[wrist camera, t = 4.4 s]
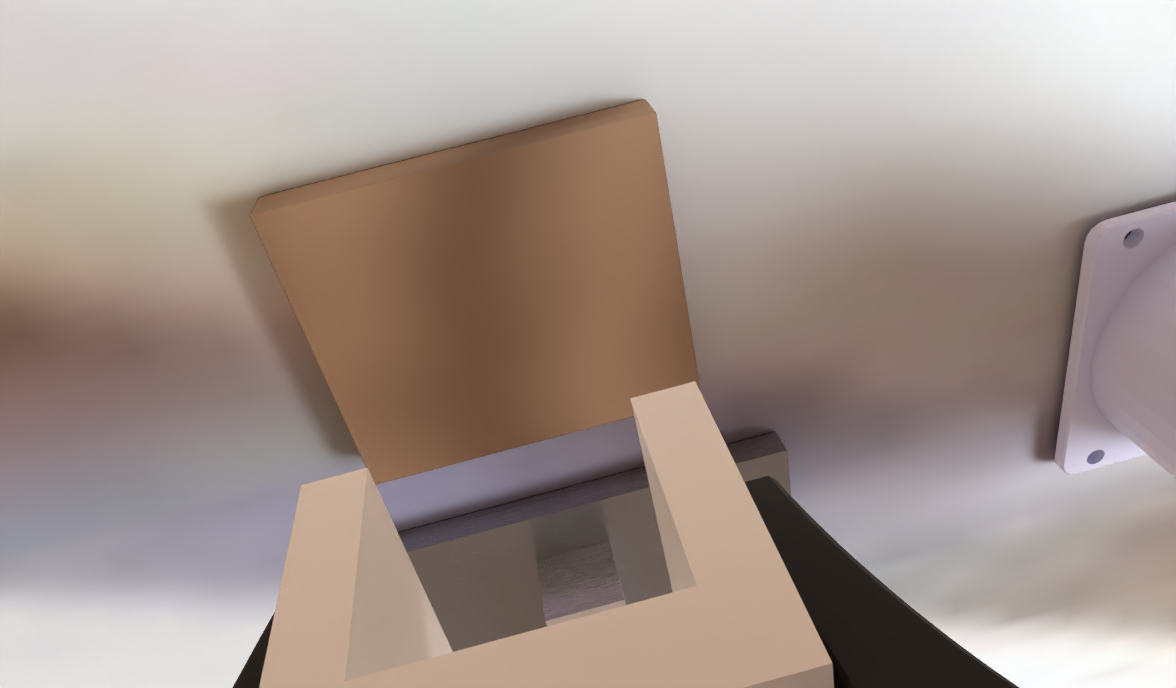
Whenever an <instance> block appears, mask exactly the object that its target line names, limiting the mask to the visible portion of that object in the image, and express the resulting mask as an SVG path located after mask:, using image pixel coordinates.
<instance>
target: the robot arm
mask: <svg viewBox="0 0 1176 688" xmlns="http://www.w3.org/2000/svg"><path fill="white" fill-rule="evenodd" d="M1131 230H1132V232H1131V234H1130V235H1129V236H1128V237H1127V238H1126V239H1125V240H1124V238H1125V236H1126V235H1127V234H1128V233H1129V232H1130V231H1131ZM1146 454H1148V455H1149V456H1150V457H1151V458H1152V459H1153V460H1155V461H1156V462H1157V463H1158V464H1159V465H1160V466H1162V467H1163V468H1164V469H1165V470H1166V471H1167V472H1169V473H1170V474H1171V475H1172V476H1173V477H1175V478H1176V201H1175V202H1171V203H1167V204H1163V205H1159V206H1156V207H1152V208H1148V209H1144V210H1140V211H1137V212H1133V213H1129V214H1125V215H1121V216H1118V217H1114V218H1110V219H1106V220H1104V221H1102V222H1100V223H1098V224H1097V225H1096V226H1094V227H1093V228H1092V229H1091V230H1090V232H1089V233H1088V235H1087V237H1086V240H1085V243H1084V250H1083V257H1082V264H1081V271H1080V279H1079V286H1078V293H1077V300H1076V308H1075V315H1074V322H1073V329H1072V337H1071V344H1070V351H1069V358H1068V365H1067V373H1066V380H1065V387H1064V394H1063V402H1062V409H1061V416H1060V423H1059V430H1058V438H1057V445H1056V452H1055V463H1056V464H1057V465H1058V466H1059V467H1060V468H1061V469H1062V470H1063V471H1064V472H1065V473H1068V474H1075V473H1080V472H1083V471H1087V470H1091V469H1094V468H1098V467H1102V466H1106V465H1109V464H1113V463H1117V462H1120V461H1124V460H1128V459H1131V458H1135V457H1139V456H1142V455H1146ZM745 484H746V486H747V489H748V491H749V493H750V495H751V497H752V499H753V501H754V503H755V505H756V507H757V509H758V511H759V513H760V515H761V517H762V519H763V521H764V523H765V526H766V528H767V530H768V532H769V534H770V536H771V538H772V540H773V542H774V544H775V546H776V548H777V550H778V552H779V554H780V556H781V558H782V560H783V562H784V565H785V567H786V569H787V571H788V573H789V575H790V577H791V579H792V581H793V583H794V585H795V587H796V589H797V591H798V593H799V595H800V597H801V599H802V601H803V604H804V606H805V608H806V610H807V612H808V614H809V616H810V618H811V620H812V622H813V624H814V626H815V628H816V630H817V632H818V634H819V636H820V638H821V641H822V643H823V645H824V647H825V649H826V651H827V653H828V655H829V657H830V659H831V661H832V663H833V678H834V688H1019V687H1017V686H1016V685H1015V684H1013V683H1012V682H1010V681H1009V680H1007V679H1006V678H1004V677H1003V676H1002V675H1000V674H999V673H997V672H996V671H994V670H993V669H991V668H990V667H989V666H987V665H986V664H984V663H983V662H982V661H980V660H979V659H978V658H976V657H975V656H973V655H972V654H971V653H969V652H968V651H967V650H965V649H964V648H963V647H961V646H960V645H959V644H957V643H956V642H955V641H953V640H952V639H951V638H949V637H948V636H947V635H946V634H944V633H943V632H942V631H941V630H939V629H938V628H937V627H935V626H934V625H933V624H932V623H930V622H929V621H928V620H926V619H925V618H924V617H923V616H921V615H920V614H919V613H918V612H916V611H915V610H914V609H913V608H911V607H910V606H909V605H908V604H907V603H905V602H904V601H903V600H902V599H901V598H899V597H898V596H897V595H896V594H895V593H893V592H892V591H891V590H890V589H889V588H888V587H887V586H885V585H884V584H883V583H882V582H881V581H880V580H878V579H877V578H876V577H875V576H874V575H873V574H872V573H870V572H869V571H868V570H867V569H866V568H865V567H864V566H862V565H861V564H860V563H859V562H858V561H857V560H856V559H855V558H853V557H852V556H851V555H850V554H849V553H848V552H847V551H846V550H845V549H844V548H843V547H841V546H840V545H839V544H838V543H837V542H836V541H835V540H834V539H833V538H832V537H831V536H830V535H829V534H828V533H827V532H826V531H825V530H824V529H823V528H822V527H821V526H820V525H819V524H818V523H817V522H816V521H815V520H814V519H813V518H812V517H811V516H810V515H809V514H808V513H807V512H806V511H805V510H804V509H803V508H802V507H801V506H800V505H799V504H798V503H797V502H796V501H795V500H794V499H793V498H792V497H791V496H790V495H789V494H788V493H787V491H786V490H785V489H784V488H783V487H782V486H781V485H780V484H779V482H778V481H777V480H775V479H773V478H771V477H770V476H765V477H762V478H758V479H754V480H750V481H747V482H745ZM274 614H275V613H274ZM274 614H273V616H272V618H271V619H270V621H269V623H268V625H267V626H266V628H265V630H264V632H263V634H262V635H261V637H260V639H259V641H258V643H257V644H256V646H255V648H254V650H253V652H252V653H251V655H250V657H249V659H248V661H247V663H246V664H245V666H244V668H243V670H242V672H241V673H240V675H239V677H238V679H237V681H236V683H235V684H234V686H233V688H259V686H260V681H261V676H262V671H263V667H264V662H265V657H266V652H267V647H268V643H269V638H270V633H271V628H272V623H273V619H274Z"/></svg>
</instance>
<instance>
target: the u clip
mask: <svg viewBox="0 0 1176 688" xmlns="http://www.w3.org/2000/svg"><path fill="white" fill-rule="evenodd" d="M630 399H631V404H632V408H633V413H634V417H635V422H636V427H637V431H638V436H639V440H640V445H641V449H642V454H643V458H644V463H645V468H646V472H647V477H648V481H649V486H650V490H651V495H652V500H653V504H654V509H655V513H656V518H657V522H658V527H659V532H660V536H661V541H662V545H663V550H664V554H665V559H666V563H667V568H668V573H669V577H670V582H671V586H672V591H673V593H669V594H665V595H662V596H658V597H654V598H651V599H647V600H643V601H639V602H636V603H632V604H628V605H625V606H621V607H617V608H614V609H610V610H606V611H603V612H599V613H595V614H591V615H588V616H584V617H580V618H577V619H573V620H569V621H566V622H562V623H558V624H555V625H551V626H547V627H543V628H540V629H536V630H532V631H529V632H525V633H521V634H518V635H514V636H510V637H506V638H503V639H499V640H495V641H492V642H488V643H484V644H481V645H477V646H473V647H470V648H466V649H462V650H458V651H455V652H453V651H452V649H451V647H450V645H449V642H448V640H447V638H446V636H445V634H444V632H443V629H442V627H441V625H440V623H439V621H438V619H437V616H436V614H435V612H434V610H433V608H432V606H431V604H430V601H429V599H428V597H427V595H426V593H425V591H424V588H423V586H422V584H421V582H420V580H419V578H418V575H417V573H416V571H415V569H414V567H413V565H412V562H411V560H410V558H409V556H408V554H407V552H406V549H405V547H404V545H403V543H402V541H401V539H400V536H399V534H398V532H397V530H396V528H395V526H394V523H393V521H392V519H391V517H390V515H389V513H388V510H387V508H386V506H385V504H384V502H383V500H382V497H381V495H380V493H379V491H378V489H377V487H376V484H375V482H374V480H373V478H372V476H371V474H370V471H369V469H368V468H364V469H361V470H357V471H353V472H349V473H345V474H342V475H338V476H334V477H330V478H326V479H323V480H319V481H315V482H311V483H307V484H304V485H301V489H300V494H299V499H298V503H297V508H296V513H295V518H294V523H293V527H292V532H291V537H290V542H289V547H288V551H287V556H286V561H285V566H284V571H283V575H282V580H281V585H280V590H279V595H278V599H277V604H276V609H275V614H274V619H273V623H272V628H271V633H270V638H269V643H268V647H267V652H266V657H265V662H264V667H263V671H262V676H261V681H260V686H259V688H834V678H833V663H832V661H831V659H830V657H829V655H828V653H827V651H826V649H825V647H824V645H823V643H822V641H821V638H820V636H819V634H818V632H817V630H816V628H815V626H814V624H813V622H812V620H811V618H810V616H809V614H808V612H807V610H806V608H805V606H804V604H803V601H802V599H801V597H800V595H799V593H798V591H797V589H796V587H795V585H794V583H793V581H792V579H791V577H790V575H789V573H788V571H787V569H786V567H785V565H784V562H783V560H782V558H781V556H780V554H779V552H778V550H777V548H776V546H775V544H774V542H773V540H772V538H771V536H770V534H769V532H768V530H767V528H766V526H765V523H764V521H763V519H762V517H761V515H760V513H759V511H758V509H757V507H756V505H755V503H754V501H753V499H752V497H751V495H750V493H749V491H748V489H747V486H746V484H745V482H744V480H743V478H742V476H741V474H740V472H739V470H738V468H737V466H736V464H735V462H734V460H733V458H732V456H731V454H730V452H729V450H728V447H727V445H726V443H725V441H724V439H723V437H722V435H721V433H720V431H719V429H718V427H717V425H716V423H715V421H714V419H713V417H712V415H711V413H710V411H709V408H708V406H707V404H706V402H705V400H704V398H703V396H702V394H701V392H700V390H699V388H698V386H697V384H696V382H695V381H694V382H691V383H687V384H683V385H679V386H675V387H672V388H668V389H664V390H660V391H656V392H653V393H649V394H645V395H641V396H637V397H634V398H630Z"/></svg>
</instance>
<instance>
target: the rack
mask: <svg viewBox="0 0 1176 688" xmlns="http://www.w3.org/2000/svg"><path fill="white" fill-rule="evenodd" d="M727 447H728V450H729V452H730V454H731V456H732V458H733V460H734V462H735V464H736V466H737V468H738V470H739V472H740V474H741V476H742V478H743V480H744V482H747V481H750V480H754V479H758V478H762V477H765V476H770V477H771V478H773V479H775V480H777V481H778V482H779V484H780V485H781V486H782V487H783V488H784V489H785V490H786V491H787V493H788V494H789V495H790V496H791V491H790V481H789V470H788V459H787V450H786V448H785V447H784V445H783V443H782V442H781V440H780V438H779V436H778V435H777V433H776V432H772V433H769V434H765V435H761V436H757V437H754V438H750V439H746V440H743V441H739V442H735V443H731V444H728V445H727ZM398 534H399V536H400V539H401V541H402V543H403V545H404V547H405V549H406V552H407V554H408V556H409V558H410V560H411V562H412V565H413V567H414V569H415V571H416V573H417V575H418V578H419V580H420V582H421V584H422V586H423V588H424V591H425V593H426V595H427V597H428V599H429V601H430V604H431V606H432V608H433V610H434V612H435V614H436V616H437V619H438V621H439V623H440V625H441V627H442V629H443V632H444V634H445V636H446V638H447V640H448V642H449V645H450V647H451V649H452V651H453V652H455V651H458V650H462V649H466V648H470V647H473V646H477V645H481V644H484V643H488V642H492V641H495V640H499V639H503V638H506V637H510V636H514V635H518V634H521V633H525V632H529V631H532V630H536V629H540V628H543V627H547V626H551V625H555V624H558V623H562V622H566V621H569V620H573V619H577V618H580V617H584V616H588V615H591V614H595V613H599V612H603V611H606V610H610V609H614V608H617V607H621V606H625V605H628V604H632V603H636V602H639V601H643V600H647V599H651V598H654V597H658V596H662V595H665V594H669V593H673V591H672V586H671V582H670V577H669V573H668V568H667V563H666V559H665V554H664V550H663V545H662V541H661V536H660V532H659V527H658V522H657V518H656V513H655V509H654V504H653V500H652V495H651V490H650V486H649V481H648V477H647V472H646V468H645V467H642V468H638V469H634V470H630V471H627V472H623V473H619V474H615V475H612V476H608V477H604V478H600V479H597V480H593V481H589V482H586V483H582V484H578V485H574V486H571V487H567V488H563V489H559V490H556V491H552V492H548V493H544V494H541V495H537V496H533V497H529V498H526V499H522V500H518V501H514V502H511V503H507V504H503V505H500V506H496V507H492V508H488V509H485V510H481V511H477V512H473V513H470V514H466V515H462V516H458V517H455V518H451V519H447V520H443V521H440V522H436V523H432V524H429V525H425V526H421V527H417V528H414V529H410V530H406V531H402V532H399V533H398Z"/></svg>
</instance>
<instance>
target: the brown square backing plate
mask: <svg viewBox="0 0 1176 688" xmlns="http://www.w3.org/2000/svg"><path fill="white" fill-rule="evenodd" d="M250 218H251V220H252V222H253V224H254V227H255V229H256V231H257V233H258V235H259V237H260V239H261V242H262V244H263V246H264V248H265V250H266V252H267V255H268V257H269V259H270V261H271V263H272V265H273V268H274V270H275V272H276V274H277V276H278V278H279V280H280V283H281V285H282V287H283V289H284V291H285V293H286V296H287V298H288V300H289V302H290V304H291V306H292V308H293V311H294V313H295V315H296V317H297V319H298V321H299V324H300V326H301V328H302V330H303V332H304V334H305V337H306V339H307V341H308V343H309V345H310V347H311V349H312V352H313V354H314V356H315V358H316V360H317V362H318V365H319V367H320V369H321V371H322V373H323V375H324V378H325V380H326V382H327V384H328V386H329V388H330V390H331V393H332V395H333V397H334V399H335V401H336V403H337V406H338V408H339V410H340V412H341V414H342V416H343V419H344V421H345V423H346V425H347V427H348V429H349V431H350V434H351V436H352V438H353V440H354V442H355V444H356V447H357V449H358V451H359V453H360V455H361V457H362V459H363V462H364V464H365V466H366V468H368V469H369V471H370V474H371V476H372V478H373V480H374V482H375V484H376V485H377V484H380V483H384V482H388V481H392V480H396V479H399V478H403V477H407V476H411V475H414V474H418V473H422V472H426V471H429V470H433V469H437V468H441V467H444V466H448V465H452V464H456V463H460V462H463V461H467V460H471V459H475V458H478V457H482V456H486V455H490V454H493V453H497V452H501V451H505V450H508V449H512V448H516V447H520V446H524V445H527V444H531V443H535V442H539V441H542V440H546V439H550V438H554V437H557V436H561V435H565V434H569V433H573V432H576V431H580V430H584V429H588V428H591V427H595V426H599V425H603V424H606V423H610V422H614V421H618V420H621V419H625V418H629V417H633V416H634V413H633V408H632V404H631V399H630V398H634V397H637V396H641V395H645V394H649V393H653V392H656V391H660V390H664V389H668V388H672V387H675V386H679V385H683V384H687V383H691V382H694V381H695V382H696V384H697V386H698V388H699V390H700V385H699V378H698V372H697V366H696V360H695V353H694V347H693V341H692V335H691V328H690V322H689V316H688V310H687V303H686V297H685V291H684V285H683V278H682V272H681V266H680V260H679V253H678V247H677V241H676V234H675V228H674V222H673V216H672V209H671V203H670V197H669V191H668V184H667V178H666V172H665V166H664V159H663V153H662V147H661V141H660V134H659V128H658V122H657V116H656V112H655V111H654V110H653V108H652V107H651V106H650V105H649V104H648V103H647V101H646V100H645V99H643V100H640V101H636V102H632V103H628V104H624V105H620V106H616V107H612V108H608V109H604V110H600V111H596V112H592V113H588V114H584V115H580V116H577V117H573V118H569V119H565V120H561V121H557V122H553V123H549V124H545V125H541V126H537V127H533V128H529V129H525V130H521V131H518V132H514V133H510V134H506V135H502V136H498V137H494V138H490V139H486V140H482V141H478V142H474V143H470V144H466V145H462V146H459V147H455V148H451V149H447V150H443V151H439V152H435V153H431V154H427V155H423V156H419V157H415V158H411V159H407V160H403V161H399V162H396V163H392V164H388V165H384V166H380V167H376V168H372V169H368V170H364V171H360V172H356V173H352V174H348V175H344V176H340V177H337V178H333V179H329V180H325V181H321V182H317V183H313V184H309V185H305V186H301V187H297V188H293V189H289V190H285V191H281V192H278V193H274V194H270V195H266V196H262V197H259V198H258V200H257V202H256V204H255V206H254V208H253V210H252V213H251V215H250ZM700 392H701V391H700Z"/></svg>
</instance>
